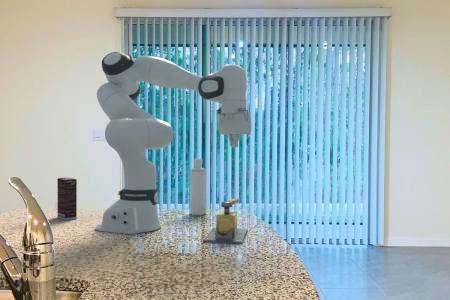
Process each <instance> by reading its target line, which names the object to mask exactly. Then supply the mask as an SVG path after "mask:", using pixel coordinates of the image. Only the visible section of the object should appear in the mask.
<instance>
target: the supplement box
mask: <svg viewBox="0 0 450 300" xmlns="http://www.w3.org/2000/svg"><path fill="white" fill-rule="evenodd" d="M56 180H57V186H56V187H57V218H58V219H61V220H63V221H72V220H77V218H78V217H77V211H78V210H77V203H78V202H77V201H78V199H77V195H78V193H77V192H78V191H77V190H78V189H77V185H78V183H77V181H78V180H77V178H71V177H58V178H57V179H56Z"/></svg>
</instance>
